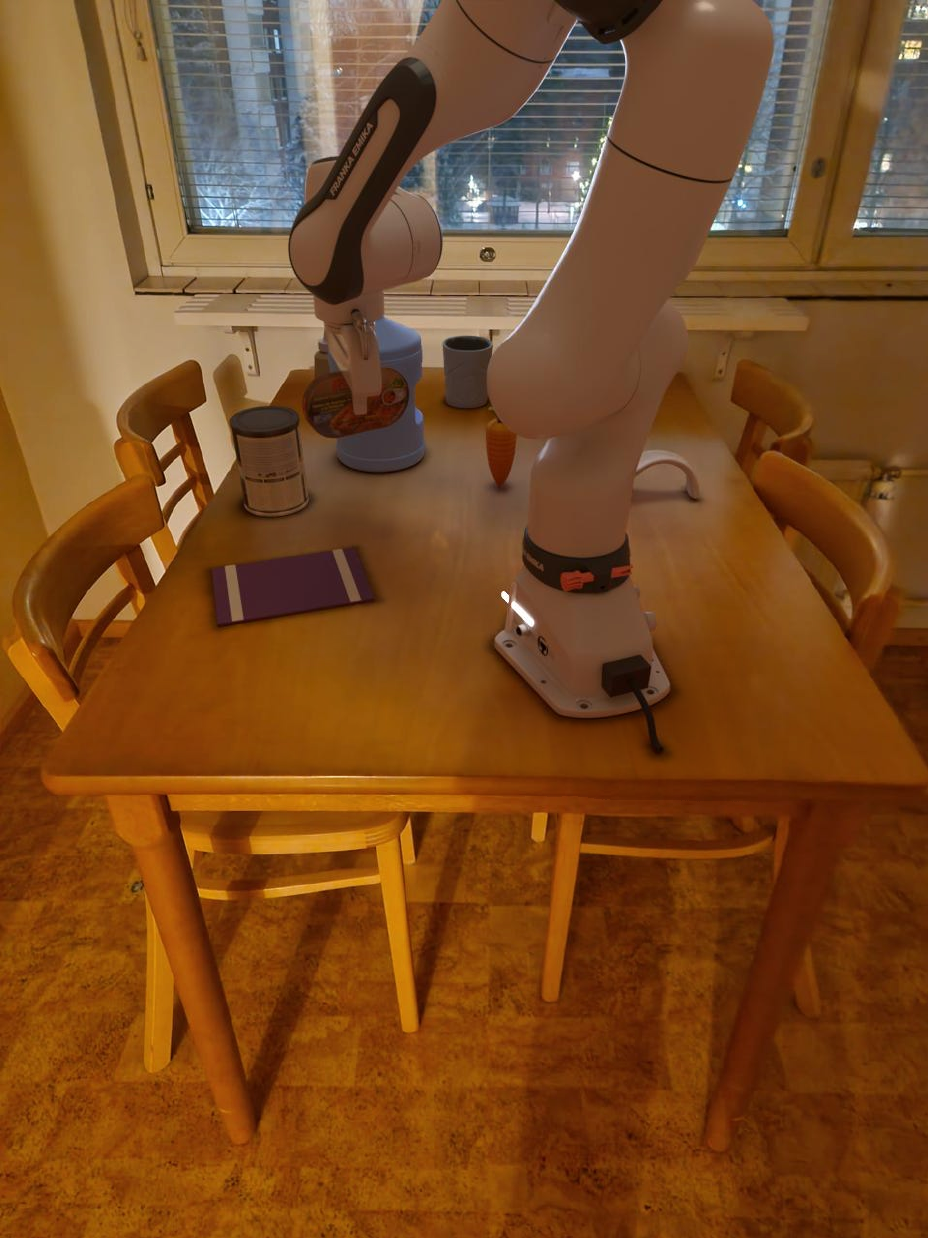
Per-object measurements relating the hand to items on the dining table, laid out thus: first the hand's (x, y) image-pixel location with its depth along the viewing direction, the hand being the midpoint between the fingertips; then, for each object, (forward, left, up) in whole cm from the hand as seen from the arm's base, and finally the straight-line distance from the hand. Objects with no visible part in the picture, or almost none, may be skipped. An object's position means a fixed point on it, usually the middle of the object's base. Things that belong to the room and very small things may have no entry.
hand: (356, 407), depth 110 cm
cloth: (-12, +13, -19) cm, 26 cm away
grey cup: (+49, -31, -20) cm, 61 cm away
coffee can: (+14, +12, -20) cm, 27 cm away
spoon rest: (0, -42, -20) cm, 47 cm away
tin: (0, 0, -3) cm, 3 cm away
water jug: (+27, -8, -20) cm, 34 cm away
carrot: (+9, -24, -20) cm, 32 cm away
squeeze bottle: (+50, -4, -20) cm, 54 cm away
